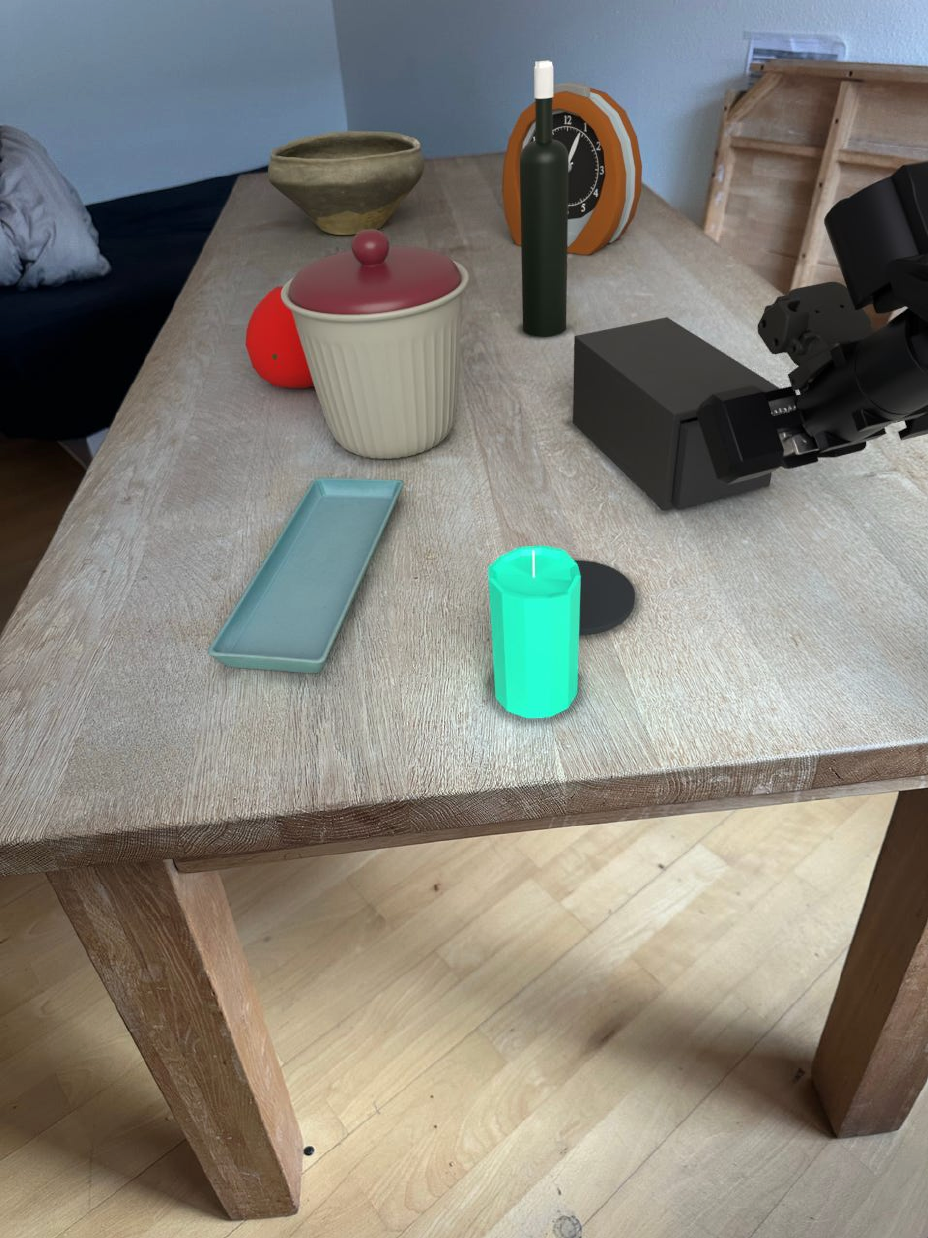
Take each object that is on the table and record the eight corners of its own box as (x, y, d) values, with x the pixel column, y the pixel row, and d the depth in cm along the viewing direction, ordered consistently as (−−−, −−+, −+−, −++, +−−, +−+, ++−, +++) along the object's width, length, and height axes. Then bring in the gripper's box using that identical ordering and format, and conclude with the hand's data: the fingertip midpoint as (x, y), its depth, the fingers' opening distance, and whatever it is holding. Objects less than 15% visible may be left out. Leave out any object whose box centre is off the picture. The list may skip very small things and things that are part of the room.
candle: (508, 727, 58) (501, 588, 50) (483, 670, 62) (474, 535, 55) (590, 707, 59) (596, 567, 51) (560, 652, 63) (561, 516, 56)
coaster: (658, 604, 67) (659, 598, 66) (570, 651, 63) (570, 645, 63) (583, 553, 73) (584, 547, 72) (499, 593, 69) (499, 587, 69)
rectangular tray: (317, 494, 83) (312, 472, 82) (407, 498, 82) (404, 475, 80) (212, 678, 63) (203, 653, 62) (328, 687, 62) (322, 662, 60)
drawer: (777, 491, 77) (793, 412, 72) (685, 515, 75) (695, 435, 70) (667, 405, 91) (673, 334, 86) (588, 423, 89) (590, 351, 84)
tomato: (291, 427, 102) (360, 387, 110) (321, 351, 92) (394, 313, 100) (215, 356, 102) (290, 321, 111) (238, 272, 92) (318, 241, 101)
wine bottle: (536, 318, 116) (534, 57, 97) (573, 324, 113) (579, 57, 94) (514, 332, 112) (508, 64, 93) (552, 339, 109) (553, 65, 90)
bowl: (311, 260, 143) (295, 167, 134) (259, 225, 162) (243, 142, 153) (456, 227, 152) (450, 139, 143) (391, 199, 171) (382, 119, 162)
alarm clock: (495, 241, 144) (489, 86, 130) (528, 226, 150) (525, 76, 136) (609, 258, 133) (616, 91, 119) (639, 241, 139) (649, 79, 125)
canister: (499, 407, 95) (491, 206, 82) (442, 489, 82) (421, 265, 69) (355, 393, 101) (325, 202, 87) (281, 467, 88) (232, 256, 74)
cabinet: (764, 485, 79) (782, 389, 73) (663, 511, 77) (673, 414, 71) (659, 402, 94) (667, 316, 88) (572, 422, 91) (574, 335, 85)
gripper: (971, 233, 57) (830, 339, 72) (728, 280, 53) (633, 382, 68) (1026, 387, 56) (872, 462, 71) (784, 448, 52) (675, 513, 67)
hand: (764, 451), depth 69 cm, fingers closed
